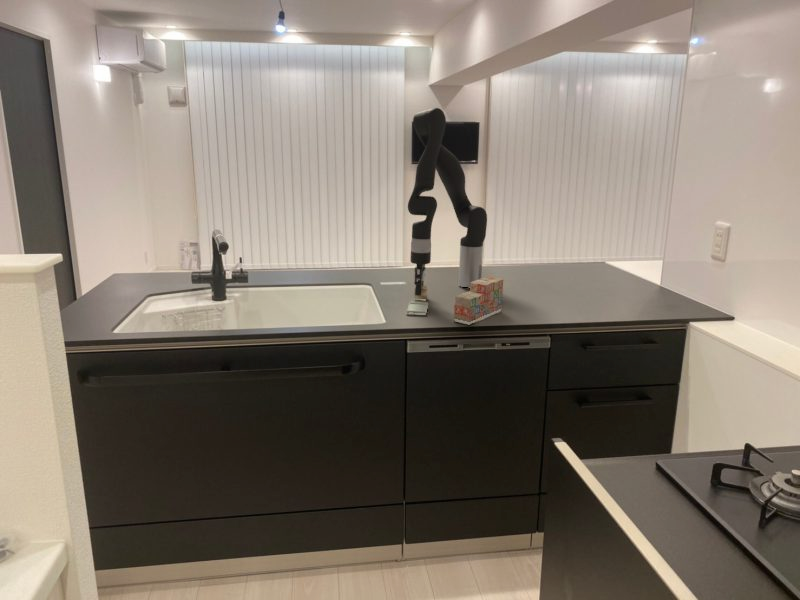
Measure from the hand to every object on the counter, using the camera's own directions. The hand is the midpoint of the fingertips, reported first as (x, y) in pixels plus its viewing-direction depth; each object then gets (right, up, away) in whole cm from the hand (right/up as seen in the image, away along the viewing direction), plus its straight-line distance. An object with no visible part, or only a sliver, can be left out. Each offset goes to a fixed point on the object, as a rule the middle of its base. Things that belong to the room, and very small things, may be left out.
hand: (419, 292), depth 224 cm
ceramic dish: (-1, -7, -14) cm, 15 cm away
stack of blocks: (+20, -9, -20) cm, 30 cm away
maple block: (+1, -3, +1) cm, 3 cm away
